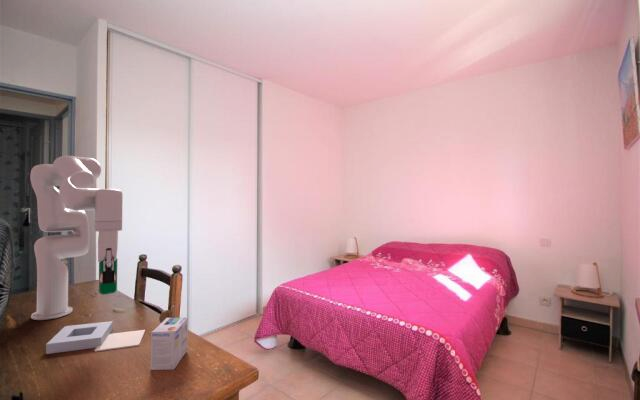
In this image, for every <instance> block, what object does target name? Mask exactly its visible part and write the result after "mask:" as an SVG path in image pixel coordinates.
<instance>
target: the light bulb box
mask: <svg viewBox="0 0 640 400" xmlns="http://www.w3.org/2000/svg"><path fill="white" fill-rule="evenodd" d="M188 321H189V318H188V317H186V316H182V317H173V318H166V319H165V320H164V321H163V322H162V323H160V324H159V325H157V326H156V327H155V328H154V329H153V330H152V331H150V370H151V371H152V370H153V371H157V370H160V371H161V370H162V371H163V370H164V371H165V370H166V371H167V370H169V371H170V370H175V368H176V367H177V365H178V364H179V363H180V362H181V360H182V359H183V357H184V356H185V355H186V353H187V352H188Z"/></svg>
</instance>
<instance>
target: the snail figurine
mask: <svg viewBox="0 0 640 400" xmlns="http://www.w3.org/2000/svg"><path fill="white" fill-rule="evenodd" d="M172 304H173V305H171V308H170V309H171V310H170V309H165V310H163V311H162V312H161V313H160V315H159V318H158V319H159V322H160V324H161V323H162V322H163V321H164V320H165V319H166V318H175V312H176V309H177V307H176V304H177V302H175V301H173V302H172Z"/></svg>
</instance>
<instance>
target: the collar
mask: <svg viewBox="0 0 640 400" xmlns="http://www.w3.org/2000/svg"><path fill="white" fill-rule="evenodd" d="M113 329H114V320H112V321H111V320H110V321H101V322H92V323H91V322H90V323H84V324H83V323H82V324H72V325H64V327H63V328H61V329H60V330H59V331H58V333H56V335H54V336H53V337H52V338H51V339H50V340H49V341H48V342H47V343H46V344H45V346H46V347H45V354H46V355H49V354H56V353H65V352H73V351H79V350H80V351H81V350H87V349H96V348H97V346H101V345H102V344H103V342H104V341H105V339H106V338H107V336H108V335H109V334H112V332H113Z"/></svg>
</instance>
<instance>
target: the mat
mask: <svg viewBox="0 0 640 400" xmlns="http://www.w3.org/2000/svg"><path fill="white" fill-rule="evenodd" d="M145 332H146V329H139V330H131V331H124V332H116V333H115V332H114V333H110V334H109V335H108V336H107V338H106V339H105V341H104V342H103V344H102V345H101V346H97V347H96V348H94V351H93V352H95V353H96V352H102V351H103V352H104V351H109V350H117V349H118V350H119V349H123V348H124V349H125V348H131V347H132V348H133V347H139V346H140V345H141V342H142V340H143V337H144V335H145Z"/></svg>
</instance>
